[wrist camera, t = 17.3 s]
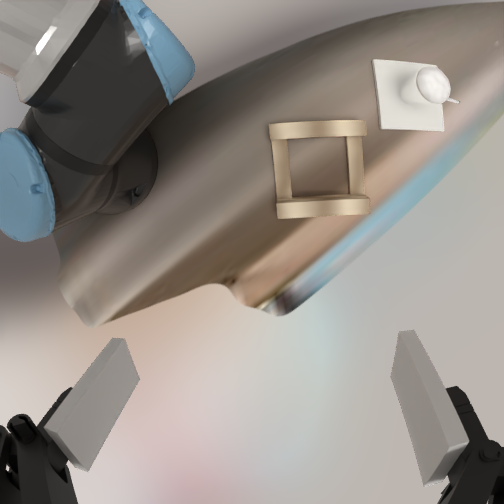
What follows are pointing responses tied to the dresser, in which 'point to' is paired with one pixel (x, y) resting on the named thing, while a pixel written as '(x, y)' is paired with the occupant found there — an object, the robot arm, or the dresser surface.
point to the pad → (394, 107)
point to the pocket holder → (322, 203)
